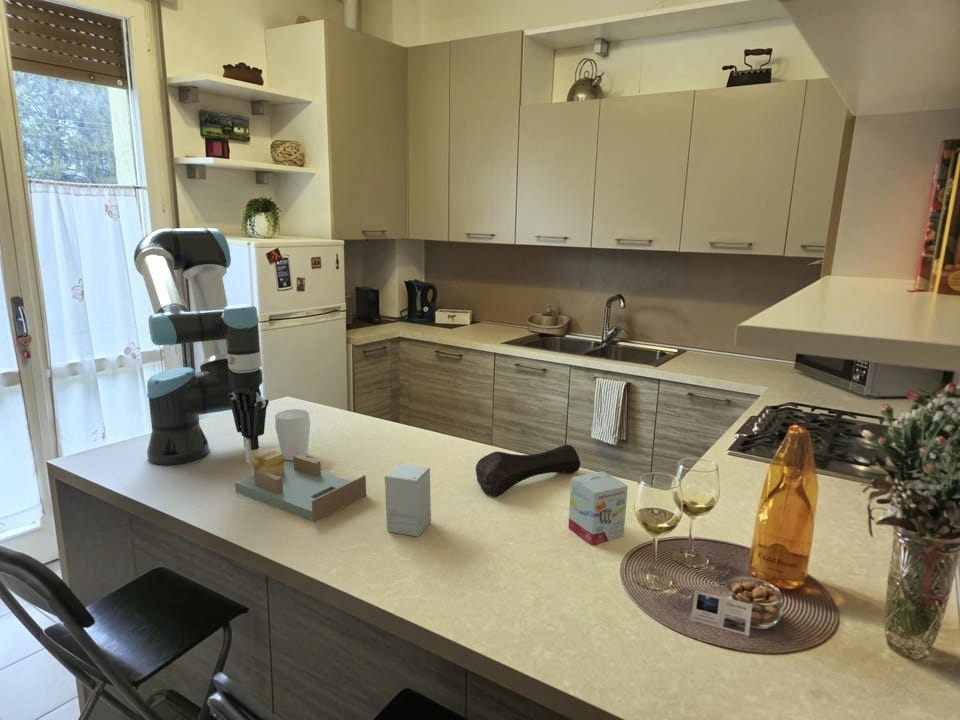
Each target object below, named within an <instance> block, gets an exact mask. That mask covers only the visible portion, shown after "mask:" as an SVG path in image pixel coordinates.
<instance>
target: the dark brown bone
mask: <svg viewBox="0 0 960 720" xmlns="http://www.w3.org/2000/svg"><path fill="white" fill-rule="evenodd" d="M580 467H581V459H580V457H579V454H578V452H577V451H576V450H575V447H574V446H572V445H571V444H563V445H561V446H560V445H559V446H558V447H555V448H553V449H550V450H547V451H543V452H540V453H539V452H538V453H534V454H514V453H508V452H504V451H503V452H502V451H493V452H491V453H489V454H487V455H485V456H482V458H480V459H479V460H478V461H477V463H476V465H475V474H476V480H477V482H478V484H479V487H480V490H482V492H483V493H484V494H485V495H488V496H490V497H492V498H498V497H500V496H502V495H503V494H504V493H505V492H507V491H508V490H509V489H511V488H512V487H514V486H516V485H517V484H518V483H521V482H523V481H524V480H526V479H529V478H532V477H536V476H539V475H543V474H552V473H553V474H554V473H563V474H565V473H566V474H573V473H576V472H578V471H579V469H580Z"/></svg>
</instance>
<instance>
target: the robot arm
mask: <svg viewBox="0 0 960 720" xmlns="http://www.w3.org/2000/svg"><path fill="white" fill-rule="evenodd" d="M231 259H232V258H231V252H230V246H229V243H228V240H227V239H226V236H225V235H224V233H223V231H221V230H219V229H218V228H208V227H202V228H201V227H200V228H199V227H197V228H193V227H192V228H191V227H190V228H164V227H163V228H159V229H156V230H154V231H152V232H150V233H148V234H147V235H145V236H144V237H143V238H142V239H141V241H140V240H139V242H138V244H137V246H136V247H135V250H134V254H133V262H134V267H135V269H136V271H137V272H138V273H139V274H140V275H141V276H142V277H143V280H144V281H143V282H144V284H145V287H146V291H147V294H148V298H149V301H150V303H151V306H152V307H151V308H152V310H153V314H151V315H149V317H148V328H149V334H150V340H151V342H152V343H153V344H154V345H155V346H167V345H169V346H174V345H183V344H190V343H192V344H193V343H201V346H202V347H201V348H202V352H203V356H204V358H203V359H204V360H203V361H202V363H201V364H200V365H199V369H200V371H198V372H197V371H195V369H194V368H193V367H189V366H185V367H176V368H175V367H174V368H170V369H166V370H162V371H160V372H157V373H156V374H153V375H152V376H150V377H149V379H148V380H147V382H146V387H147V394H146V396H147V398H148V406H149V414H150V415H149V416H150V424H151V434H150V438H149V442H148V445H147V451H146V453H147V460H148V461H149V462H150V463H152V464H155V465H165V466H166V465H167V466H169V465H178V464H179V465H180V464H184V463H185V464H186V463H189V462H193V461H195V460H199V459H201V458H203V457H204V456H206V455H207V454H208V453H209V452H210V448H209V447H210V445H209V442H208V439H207V437H206V435H205V433H204V432H203V428H202V427H201V425H200V415H205V414H214V413H221V412H227V411H232V416H233V420H234V424H235V428H236V432H237V433H241V435H242V437H243V446H244V453H245V462H246V463H248V464H252V463H253V455H255V454H258V453H260V452H259V448H260V444H259V443H260V442H259V436H262V435H264V434H265V425H266V415H267V407H268V405H269V403H270V402H269V400H268V399H264V398H263V397H262V392H261V390H260V386H261V385H262V384H263V382H264V381H263V370H262V368H261V367H262V366H263V365H262V355H261V345H260V344H261V343H260V333H259V332H260V331H259V321H260V320H259V316H258V309H257V307H256V306H255V305H253V304H248V303H240V304H237V303H236V304H229V305H228V301H227V295H226V289H225V284H224V276H225V275H226V274H227V269H228V268H230V266H231V264H232V263H231V262H232V260H231ZM179 270H180V271H182V275H183V277H184V278H185V279H186V280H188V281H190V285H191V290H192V297H193V302H194V307H195V308H194V309H195V310H194V311H189V308H188V306H187V303H186V300H185V298H184V295H183V292H182V290H181V286H180V284H179V281H178V278H177V276H176V273H175V271H179Z"/></svg>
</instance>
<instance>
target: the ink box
mask: <svg viewBox="0 0 960 720" xmlns="http://www.w3.org/2000/svg"><path fill="white" fill-rule="evenodd" d="M628 487H629V486H628V485H627V484H625V483H624V482H622V481H621V480H619V479H617V478H615V477H614V476H612V475H610V474H609V473H607V472H605V471H603V470H601V471H596V472H592V473H586V474H582V475H576V476H572V477H571V479H570V492H569V493H570V494H569V495H570V496H569V510H568V511H569V512H568V527H567V528H568V529H569V530H570V531H571V532H572V533H573V534H575V535H577V537H579V538H581V539H582V540H583V541H584V542H586V543H588V544H589V545H590V546H592V547H594V546H597V545H600V544H604V543H606V542H610V541H614V540H616V539H620V538H624V536H625V525H626V523H625V522H626V513H627V498H628Z"/></svg>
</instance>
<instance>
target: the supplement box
mask: <svg viewBox="0 0 960 720" xmlns="http://www.w3.org/2000/svg"><path fill="white" fill-rule="evenodd" d="M430 468H431V467H429V466H419V465H412V464H404V463H399V464H397V465H396V466H395V467H394V468H393V469H392V470H390V471H389V472H388V473H387V474H386V475H384V486H385V487H384V489H385V512H386V513H385V514H386V517H385V518H386V531H387V532H388V533H394V534H400V535H406V536H412V537H416V538H417V537H419V536H420V535H421V534H422V533H423V532H424V530H425V529H426V528H427V527H428V526H429V525H430V523H431V521H432V508H431V507H432V505H431V469H430ZM421 532H422V533H421Z"/></svg>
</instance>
